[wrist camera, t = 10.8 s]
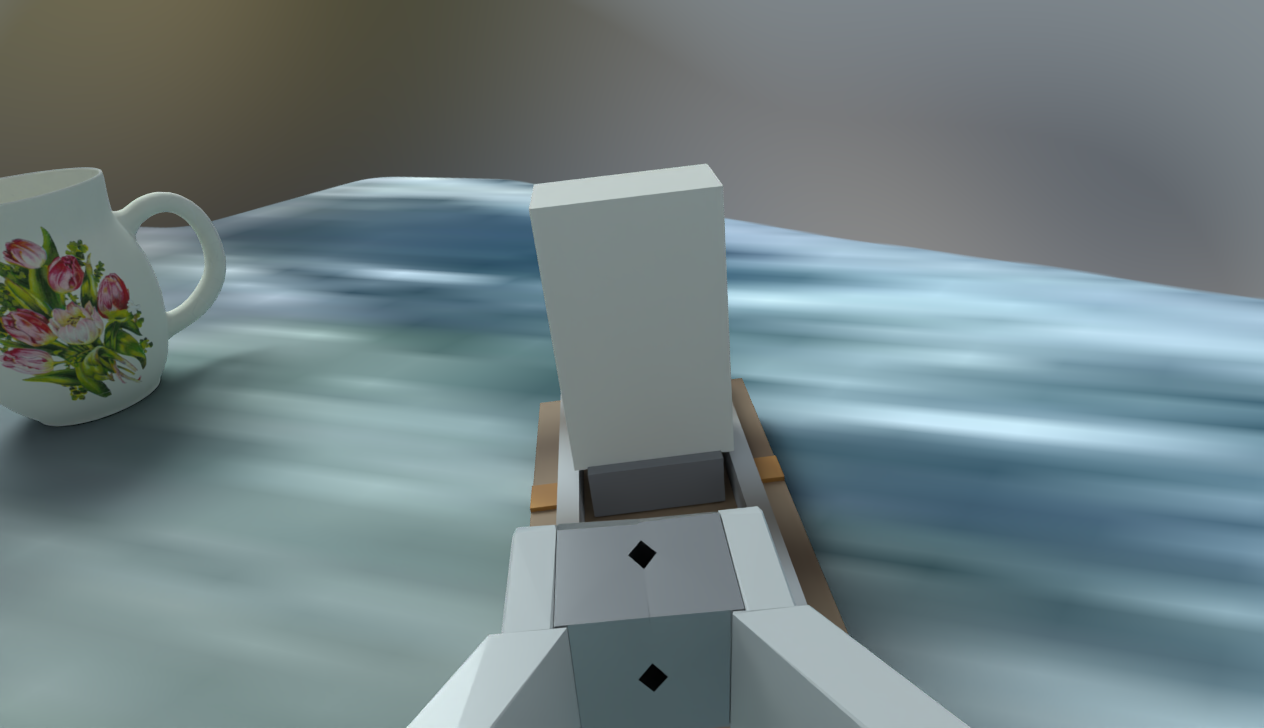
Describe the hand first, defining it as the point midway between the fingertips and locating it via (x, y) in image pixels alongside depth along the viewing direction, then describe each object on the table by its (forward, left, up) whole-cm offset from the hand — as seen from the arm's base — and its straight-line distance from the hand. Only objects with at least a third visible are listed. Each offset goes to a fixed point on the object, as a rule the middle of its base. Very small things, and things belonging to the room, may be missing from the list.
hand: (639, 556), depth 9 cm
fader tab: (+1, +16, -12) cm, 20 cm away
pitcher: (-32, +35, -14) cm, 50 cm away
